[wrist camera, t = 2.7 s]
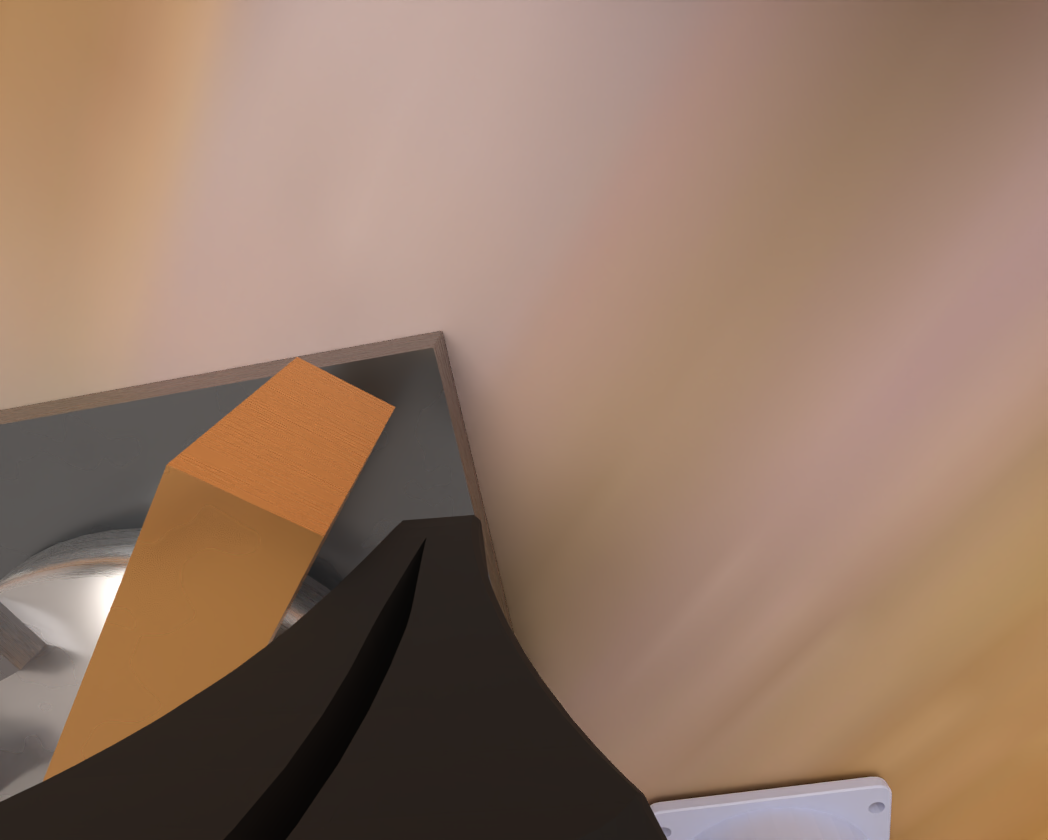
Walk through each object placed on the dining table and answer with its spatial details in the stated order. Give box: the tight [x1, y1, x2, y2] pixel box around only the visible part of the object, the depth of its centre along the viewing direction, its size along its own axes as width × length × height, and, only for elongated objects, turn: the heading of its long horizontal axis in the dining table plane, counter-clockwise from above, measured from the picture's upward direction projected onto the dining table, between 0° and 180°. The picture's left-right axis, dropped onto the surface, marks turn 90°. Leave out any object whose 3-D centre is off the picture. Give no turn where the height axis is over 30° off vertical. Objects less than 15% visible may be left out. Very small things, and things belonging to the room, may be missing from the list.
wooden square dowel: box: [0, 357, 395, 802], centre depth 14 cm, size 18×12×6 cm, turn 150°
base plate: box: [0, 331, 514, 633], centre depth 18 cm, size 18×18×2 cm
